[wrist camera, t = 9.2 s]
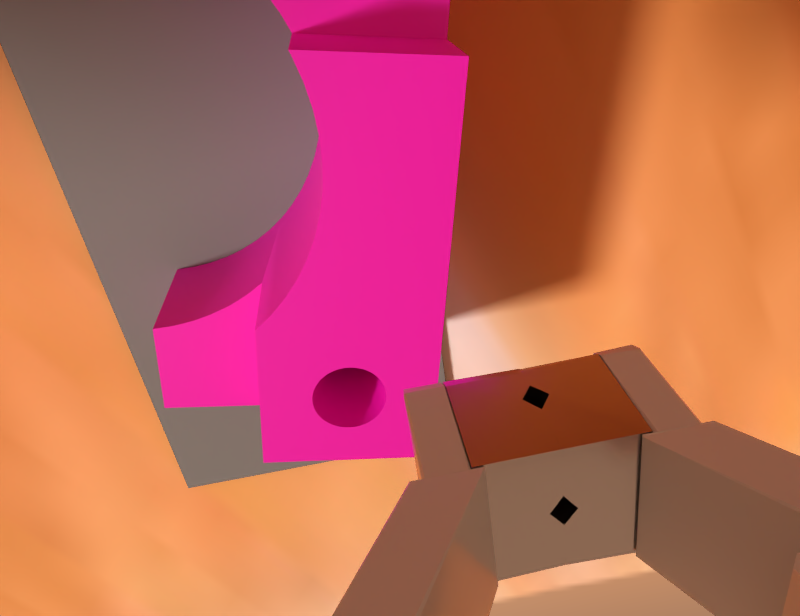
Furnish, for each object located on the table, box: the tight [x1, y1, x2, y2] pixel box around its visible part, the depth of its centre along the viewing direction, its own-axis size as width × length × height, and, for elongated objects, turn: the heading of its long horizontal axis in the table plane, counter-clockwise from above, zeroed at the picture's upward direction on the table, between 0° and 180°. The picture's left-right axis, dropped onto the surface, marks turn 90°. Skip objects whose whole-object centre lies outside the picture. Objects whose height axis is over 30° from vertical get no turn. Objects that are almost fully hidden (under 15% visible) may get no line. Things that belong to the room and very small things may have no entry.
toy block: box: [153, 0, 469, 463], centre depth 17 cm, size 15×6×8 cm
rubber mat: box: [0, 0, 445, 488], centre depth 20 cm, size 10×24×1 cm, turn 9°
